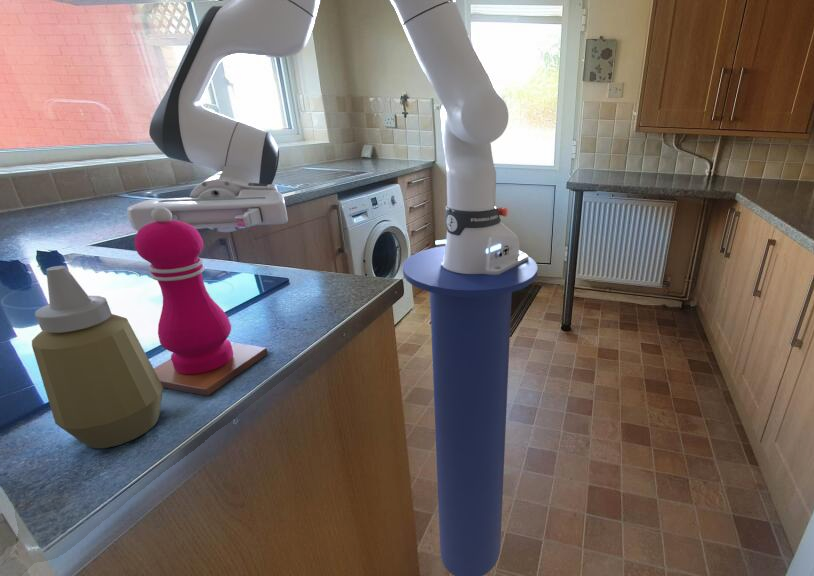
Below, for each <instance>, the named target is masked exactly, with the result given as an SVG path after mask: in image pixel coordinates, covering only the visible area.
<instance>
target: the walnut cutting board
mask: <svg viewBox="0 0 814 576" xmlns="http://www.w3.org/2000/svg"><path fill="white" fill-rule="evenodd" d="M230 343H231V346H232V350H233V357H232V358H231V360H230V361H229V362H228V363H226V364H225V365H223V366H221V367H219V368H217V369H215V370H212V371H209V372H205V373H200V374H182V373H178V372H177V371H176V370H175V369H174V366H173V363H172V360H171V358H170V359H168V360H166V361H164V362H162V363H161V364H159V365H157V366H156V367H153V369H154V371H155V372H156V374H157V376H158V378H159V380H160V382H161V384H162V387H163V389H169V390H174V391H180V392H185V393H191V394H195V395H201V396H206V397H208V396H210V395H211V394H213V393H215V392H216V391H217V390H219V389H220V388H221V387H223V386H224V385H226V384H227V383H229V382H230V381H231V380H233V379H234V378H235V377H237V376H238V375H240V374H241V373H243V372H244V371H246V370H247V369H248V368H250V367H251V366H252V365H254V364H255V363H257V362H258V361H260V360H262V359H263V358H264V357H265V356H267V355H268V354H269V352H268V348H267V347H264V346H258V345H251V344H244V343H239V342H234V341H233V342H232V341H230Z"/></svg>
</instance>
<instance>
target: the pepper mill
mask: <svg viewBox="0 0 814 576" xmlns="http://www.w3.org/2000/svg"><path fill="white" fill-rule="evenodd" d="M151 216H152V218H153V219H154V220H155V221H156V222H152V223H149V224H147V225H145V226H144V227H142V228H141V229H140V230H139V231H136V235H134V248H135V250H136V253H137V255H139V257H141V258H142V259H143V260H145V261H146V262H148V263H149V264H150V265H148V271H149V272H150V273H151V274H150V278H151V279H152V280H155V281H157V283H158V284H159V287H160V291H161V296H162V307H161V312H160V317H159V321H158V326H157V336H158V340H159V344H160V346H161V347H162V348H164V349H165V350H167V351H169V352H171V356H170V359H171V360H172V363H173V366H174V369H175V370H176V371H177V372H178V373H182V374H200V373H205V372H209V371H212V370H215V369H217V368H219V367H221V366H223V365H225V364H226V363H228V362H229V361H230V360H231V358H232V357H233V350H232V346H231V343H230V342H231V341H230V340H229V339H228V338H229V337H230V334H231V332H232V324H231V321H230V319H229V317H228V316H227V314H226V313H225V311H224V310H223V308H221V307H220V306H219V305H218V303H217V302H216V301H214V299H213V298H212V297H211V295H210V294H209V293H208V290H207V288H206V285H205V283H204V279H203V273H204V272H205V270H206V268H205V266H204V265H203V263H204V260H203V259H202V258H200V257H199V255H200V254H201V253H202V251H203V248H204V240H203V238H202V236H201V233H200V232H199V231H198V229H195V228H194V227H193V226H191V225H189V224H188V223H185V222H181V221H176V220H171V219H172V213H171V212H170V211H169V210H168V209H166V208H163V207H157V208H155V209H154V210H153V211H152V213H151Z"/></svg>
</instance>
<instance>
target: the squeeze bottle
mask: <svg viewBox="0 0 814 576" xmlns="http://www.w3.org/2000/svg"><path fill="white" fill-rule="evenodd" d="M45 269H46V270H45V271H46V282H47V290H48V298H49V299H48V301H49V303H48V304H46V305H43V306H42V307H39V308H38V309H37V310H35V312H34V316H35V319H36V321H37V323H38V325H39V328H40V330H41V331H40V332H39V333H38V334H37V335H36V336H35V337H33V339H32V340H31V347H32V351H33V355H34V357H35V360H36V364H37V367H38V370H39V373H40V377H41V380H42V384H43V387H44V390H45V394H46V398H47V401H48V404H49V407H50V410H51V414H52V416H53V417H52V418H53V420H54V423H55V425H56V426H58V427H59V428H61V429H62V430H64V431H65V432H66V433H67V434H69V435H70V436H72V437H73V438H75V439H76V440H78V441H79V442H80V443H81V444H83V445H84V446H87V447H89V448H91V449H107V448H113V447H116V446H120V445H123V444H126V443H128V442H131V441H133V440H135V439H138V437H141V436H142V435H144V434H146V433H147V432H149V431H150V430H151V429H152V428H153V427H154V426H155V425H157V423H158V421H159V419H160V415H161V414H160V413H161V408H162V401H163V399H162V398H163V392H164V391H163V390H164V388H163V387H162V384H161V382H160V380H159V378H158V376H157V374H156V372H155V371H154V367H153V365H152V363H151V361H150V359H149V358H148V355H147V354H146V352H145V350H144V348H143V346H142V344H141V343H140V341H139V339H138V337H137V335H136V333H135V331H134V329H133V328H132V325H131V324H130V321H129V320H128V318H127V317H124V316H121V315H117V314H114V313H112V311H111V308H110V306H109V303H108V301H107V298H106V297H105V296H104V297H103V296H101V295H88V293H87V292H86V291H85V290H84V288H83V287H82V286H81V284H79V281H77V280H76V278H75V277H74V276H73V274H72V273H71V272H70V271H69V269H68V268H67V267H66V266H65V265H54V266H49V267H48V268H45Z"/></svg>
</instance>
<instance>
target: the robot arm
mask: <svg viewBox="0 0 814 576" xmlns="http://www.w3.org/2000/svg"><path fill="white" fill-rule="evenodd" d="M389 2H390V3H391V5H392V6H393V7H394V10H395V12H396V14H397V17H398V19H399V22H400V24H401V26H402V28H403V30H404V33H405V35H406V37H407V40H408V41H409V44H410V46H411V48H412V50H413V53H414V55H415V57H416V60H417V62H418V63H419V66H420V68H421V70H422V72H423V73H424V74H425V76H426V78H427V80H428V81H429V83H430V85H431V86H432V89H433V90H434V91H435V93H436V95H437V97H438V99H439V101H440V103H441V107H440V123H441V135H442V145H443V154H444V160H445V171H446V206H445V226H446V237H445V239H439V240H435V245H444V246H445V252H444V256H443V260H442V266H443V267H444V268H445V269H447V270H449V271H452V272H456V273H462V274H488V275H499V274H501V273H503V272H505V271H507V270H509V269H511V268H513V267H515V266H517V265H519V264H521V263H523V262H525V261H527V260H528V256H529V255H528V254H527V253H525V252H524V251H522V250H520V240H519V239H520V238H519V237H518V235H517V234H516V233H515V232H513V231H512V230H511V229H510V228H509V227H507V226H506V225H505V224H504V223H503V222H501V216H502V217H505V218H506V217H507V216H508V215H509V209H508V207H502V206H500V207H499V208H498V207H497V206H496V197H497V195H496V193H497V192H496V191H497V171H496V168H495V164H494V157H493V152H492V145H491V144H492V143H493V142H495V141H496V140H498V139H500V137H502V135H503V134H504V133H505V131H506V129H507V127H508V124H509V110H508V105H507V104H506V102H505V99H503V97H502V95H500V93H499V92H498V90H497V88H496V86H495V84H494V83H493V81H492V79H491V78H492V77H490V75H489V72H488V71H487V69H486V68H485V66H484V64H483V62H482V60H481V59H480V57H479V55H478V52H477V51H476V49H475V47H474V44H473V41H472V40H471V37H470V35H469V32H468V30H467V27H466V25H465V22H464V20H463V17H462V15H461V12H460V9H459V7H458V4H457V2H456V0H389ZM320 4H321V0H230V1H229V2H228V3H226V4H225V5H213V6H211V7H210V8H209V9H208V10H207V11H206V12H205V14H204V15H203V16H202V18H201V19H200V21H199V23H198V25H197V26H196V29H195V31H194V32H193V34H192V36H191V38H190V41H189V42H188V45H187V47H186V49H185V50H184V53H183V55H182V58H181V60H180V62H179V65H177V66H178V67H177V69H176V71H175V73H174V75H173V77H172V79H171V82H170V84H169V86H168V88H167V90H166V92H165V93H164V96H163V98H162V99H161V100H160V102H159V104H158V106H157V107H156V108H155V110H154V112H153V114H152V115H151V118H150V121H149V133H148V134H149V137H150V139H151V141H152V142H153V143H154V144H155V146H156V147H157V148H158V149H159V150H160V151H161V152H162V153H163V154H164V156H166V158H169V159H173V160H177V161H182V162H186V163H190V164H196V165H200V166H203V167H205V168H209V169H212V170H214V171H218V172H217V173H214V174H213V175H211V176H209V178H206V179H204V181H202V182H201V183H199V184H197V185H196V186H194V188H193V189H192V191H191V192H190V194H189V197H169V198H154V199H147V200H143V201H140V202H138V203H135V204H132V205H130V206H128V207H127V208H126V213H127V218H128V220H129V223H130V227H131V228H132V230H134V231H136V232H138V231H139V230H140V229H141V228H142V227H144V226H145V225H147V224H149V223H152V222H156V221H155V220H154V219H153V218H152V216H151V213H152V211H153V210H154V209H155V208H157V207H163V208H166V209H168V210H169V211H170V212H171V213H172V219H171V220H176V221H181V222H185V223H188V224H189V225H191V226H193V227H194V228H195V229H196V230H198V229H209V230H212V231H215V232H220V233H232V232H236V231H239V230H241V229H246V228H250V227H253V226H267V225H269V226H270V225H282V224H284V225H285V224H287V223H288V221H289V218H288V213H287V206H286V202H285V197H284V195H283V194H282V192H280V191H279V189H278V186H277V185H276V184H273V182H274V180H275V177H276V175H277V171H278V167H279V161H280V150H279V149H280V148H279V147H278V145H277V142H276V140H275V139H274V137H273V135H272V134H271V133H270V132H269V131H266V130H265V129H262V128H259V127H257V126H254V125H251V124H249V123H246V122H245V121H244V122H243V121H239V120H236V119H234V118H231V117H229V116H226V115H224V114H221V113H218V112H216V111H213V110H210V109H208V108H206V107H205V106H203V104H202V100H203V97H204V96H205V94H206V91H207V90H208V87H209V85H210V83H211V80H212V79H213V76H214V74H215V72H216V70H217V68H218V66H219V64H220V63H221V62H222V61H223V60H225V59H226V58H228V57H231V56H239V55H240V56H241V55H243V56H255V57H263V58H273V59H274V58H276V59H281V58H289V57H293V56H296V55H298V54H299V53H300V52H302V51H303V50H304V49H305V48H306V46H307V45H308V42H309V39H310V38H311V36H312V35H311V34H312V32H313V29H314V27H315V22H316V18H317V15H318V10H319V6H320Z"/></svg>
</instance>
